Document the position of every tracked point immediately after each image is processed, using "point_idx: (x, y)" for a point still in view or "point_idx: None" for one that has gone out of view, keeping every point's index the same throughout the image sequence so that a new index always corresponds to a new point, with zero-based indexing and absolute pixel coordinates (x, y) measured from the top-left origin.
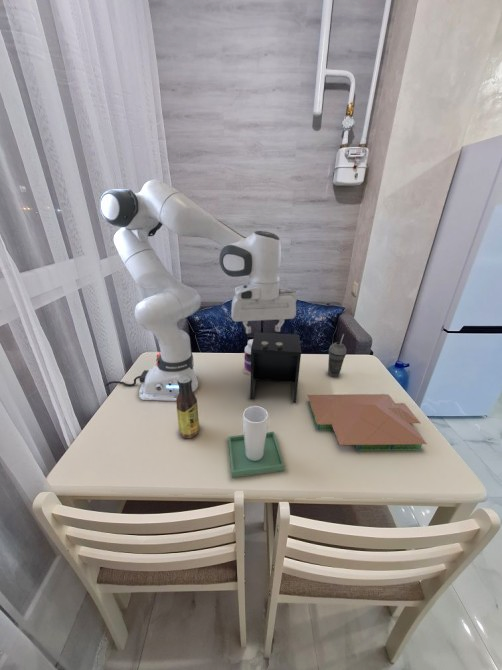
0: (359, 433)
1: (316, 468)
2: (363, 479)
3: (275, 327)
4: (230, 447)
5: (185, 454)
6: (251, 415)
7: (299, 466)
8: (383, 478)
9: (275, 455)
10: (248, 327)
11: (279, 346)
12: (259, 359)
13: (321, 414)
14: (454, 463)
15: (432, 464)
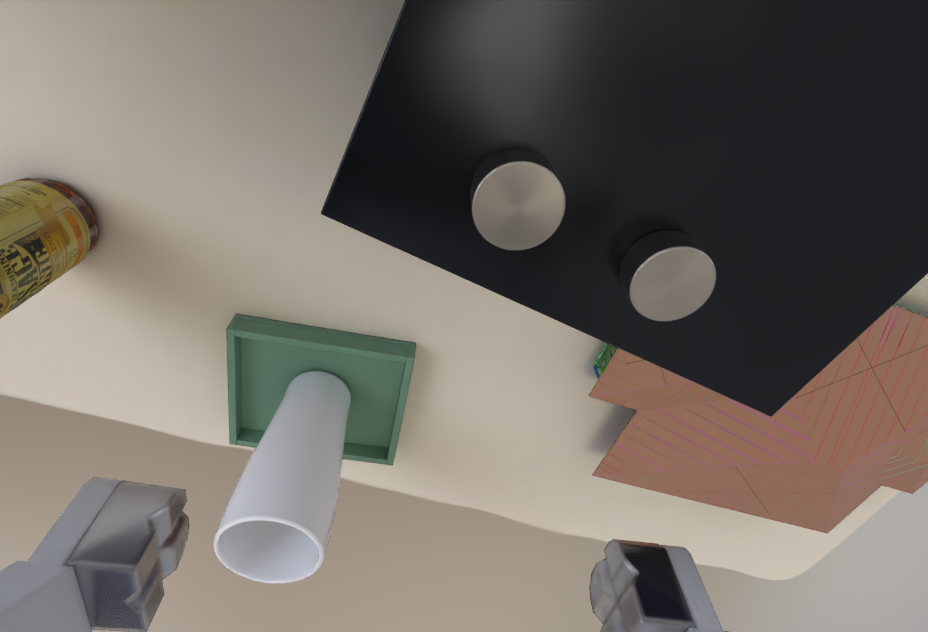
0: (680, 482)
1: (488, 465)
2: (582, 512)
3: (621, 618)
4: (231, 372)
5: (67, 316)
6: (275, 476)
7: (445, 449)
8: (630, 522)
9: (387, 414)
10: (89, 596)
11: (646, 312)
12: None
13: (635, 378)
14: (831, 539)
15: (781, 529)
